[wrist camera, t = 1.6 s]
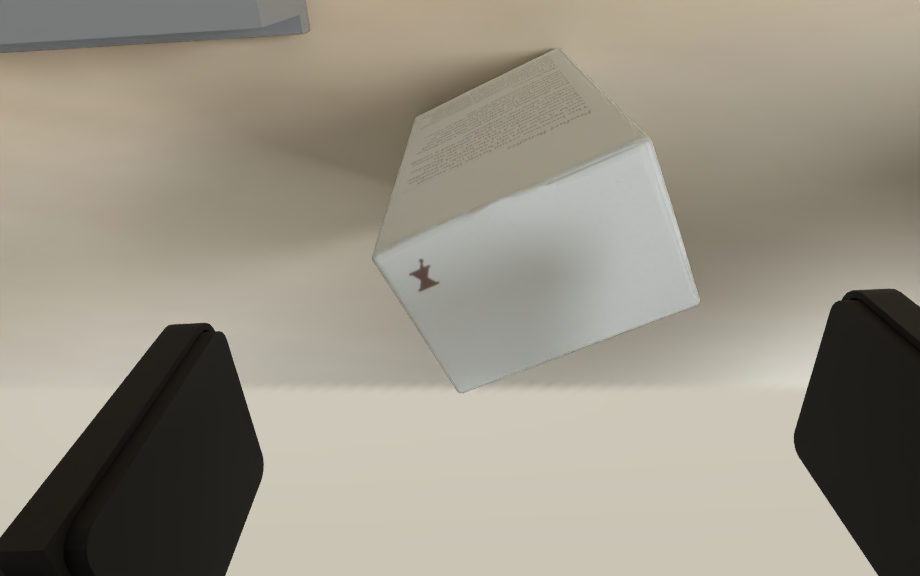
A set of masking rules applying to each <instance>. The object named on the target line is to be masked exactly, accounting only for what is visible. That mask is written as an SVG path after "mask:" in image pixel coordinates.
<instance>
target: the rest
mask: <svg viewBox="0 0 920 576" xmlns="http://www.w3.org/2000/svg"><path fill="white" fill-rule="evenodd" d="M308 31H310V27H309V21H308V15H307V9H306V3H305V0H0V53H7V52H23V51H39V50H55V49H71V48H87V47H103V46H119V45H135V44H151V43H167V42H183V41H199V40H215V39H231V38H247V37H263V36H279V35H295V34H304V33H306V32H308Z"/></svg>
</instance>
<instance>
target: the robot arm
mask: <svg viewBox="0 0 920 576" xmlns="http://www.w3.org/2000/svg"><path fill="white" fill-rule="evenodd" d="M794 444H795V449H796V452H797V454H798V456H799V458H800V459H801V460H802V462H803V464H804V465H805V467H806V468H807V470H808V471H809V473H810V474H811V476H812V477H813V479H814V480H815V482H816V483H817V485H818V486H819V488H820V489H821V491H822V492H823V494H824V495H825V497H826V498H827V500H828V501H829V503H830V504H831V506H832V507H833V509H834V510H835V512H836V513H837V515H838V516H839V518H840V519H841V521H842V522H843V524H844V525H845V526H846V528H847V530H848V531H849V532H850V534H851V535H852V537H853V539H854V540H855V542H856V543H857V545H858V546H859V547H860V549H861V550H862V552H863V553H864V555H865V556H866V558H867V559H868V561H869V562H870V564H871V565H872V567H873V568H874V570H875V571H876V573H877V574H878V576H920V307H919V306H918V305H917V304H915V303H914V302H913V301H911V300H910V299H909V298H908V297H906V296H905V295H904V294H902V293H901V292H899V291H897V290H895V289H873V290H853V291H850V292H848V293H847V294H846V295H845V296H844V297H843V299H842V301H838V302H835V304H834V305H833V306H832V308H831V310H830V314H829V317H828V320H827V324H826V327H825V331H824V334H823V337H822V341H821V344H820V348H819V351H818V354H817V358H816V361H815V364H814V368H813V371H812V375H811V378H810V381H809V385H808V388H807V392H806V395H805V398H804V402H803V405H802V408H801V412H800V415H799V419H798V422H797V426H796V429H795V433H794ZM263 465H264V464H263V456H262V452H261V449H260V446H259V442H258V439H257V436H256V433H255V430H254V426H253V423H252V420H251V417H250V413H249V410H248V407H247V404H246V400H245V397H244V394H243V391H242V387H241V384H240V381H239V378H238V374H237V371H236V368H235V365H234V361H233V358H232V355H231V352H230V349H229V345H228V342H227V339H226V337H225V335H224V334H223V333H222V332H220V331H218V332H215V331H214V328H213V327H212V326H211V325H210V324H208V323H194V324H174V325H168V326H167V327H166V328H165V329H164V330H163V331H162V333H161V334H160V335H159V337H158V338H157V339H156V340H155V342H154V343H153V344H152V345H151V347H150V348H149V349H148V350H147V352H146V353H145V354H144V356H143V357H142V358H141V359H140V361H139V362H138V363H137V364H136V366H135V367H134V368H133V370H132V371H131V372H130V373H129V375H128V376H127V377H126V378H125V380H124V381H123V382H122V384H121V385H120V386H119V387H118V389H117V390H116V391H115V392H114V394H113V395H112V396H111V397H110V399H109V400H108V401H107V403H106V404H105V405H104V407H103V408H102V409H101V410H100V411H99V413H98V414H97V415H96V417H95V418H94V419H93V420H92V422H91V423H90V424H89V426H88V427H87V428H86V429H85V431H84V432H83V433H82V434H81V436H80V437H79V438H78V440H77V441H76V442H75V443H74V445H73V446H72V447H71V448H70V450H69V451H68V452H67V453H66V455H65V456H64V457H63V458H62V460H61V461H60V462H59V464H58V465H57V466H56V467H55V469H54V470H53V471H52V473H51V474H50V475H49V476H48V478H47V479H46V480H45V481H44V483H43V484H42V485H41V486H40V488H39V489H38V490H37V492H36V493H35V494H34V495H33V497H32V498H31V499H30V500H29V502H28V503H27V504H26V506H25V507H24V508H23V509H22V511H21V512H20V513H19V514H18V516H17V517H16V518H15V519H14V521H13V522H12V524H11V525H10V526H9V527H8V528H7V530H6V531H5V532H4V534H3V535H2V536H1V537H0V576H225V575H226V572H227V569H228V566H229V564H230V561H231V559H232V556H233V553H234V551H235V548H236V546H237V543H238V540H239V537H240V535H241V532H242V530H243V527H244V524H245V522H246V519H247V516H248V514H249V511H250V508H251V506H252V503H253V501H254V498H255V495H256V493H257V490H258V487H259V485H260V482H261V479H262V475H263Z"/></svg>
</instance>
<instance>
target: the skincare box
mask: <svg viewBox="0 0 920 576" xmlns="http://www.w3.org/2000/svg"><path fill="white" fill-rule="evenodd" d="M372 260H373V262H374V263H375V265H376V266H377V268H378V269H379V271H380V272H381V274H382V275H383V277H384V278H385V280H386V281H387V283H388V284H389V286H390V288H391V289H392V291H393V292H394V294H395V295H396V297H397V298H398V300H399V301H400V303H401V304H402V306H403V307H404V309H405V311H406V312H407V314H408V315H409V317H410V318H411V320H412V321H413V323H414V324H415V326H416V327H417V329H418V331H419V332H420V334H421V335H422V337H423V338H424V340H425V341H426V343H427V345H428V346H429V348H430V349H431V351H432V352H433V354H434V355H435V357H436V359H437V360H438V362H439V363H440V365H441V367H442V368H443V370H444V371H445V373H446V374H447V376H448V377H449V379H450V381H451V382H452V384H453V385H454V387H455V388H456V390H457V392H459V393H465V392H467V391H470V390H472V389H475V388H478V387H480V386H483V385H485V384H488V383H491V382H493V381H496V380H499V379H501V378H504V377H507V376H509V375H512V374H515V373H518V372H520V371H523V370H526V369H528V368H531V367H534V366H536V365H539V364H541V363H544V362H547V361H550V360H552V359H555V358H557V357H560V356H563V355H565V354H568V353H571V352H573V351H576V350H579V349H581V348H584V347H586V346H589V345H592V344H594V343H597V342H600V341H602V340H605V339H607V338H610V337H613V336H616V335H618V334H621V333H624V332H626V331H629V330H632V329H635V328H637V327H640V326H643V325H645V324H648V323H651V322H653V321H656V320H658V319H661V318H664V317H667V316H669V315H672V314H675V313H678V312H681V311H683V310H686V309H689V308H692V307H695V306H697V305H698V304H699V302H700V298H699V295H698V292H697V288H696V285H695V282H694V278H693V275H692V271H691V268H690V264H689V261H688V258H687V254H686V251H685V248H684V244H683V241H682V238H681V234H680V231H679V227H678V224H677V221H676V217H675V214H674V211H673V207H672V204H671V201H670V197H669V194H668V191H667V188H666V185H665V181H664V178H663V175H662V171H661V168H660V165H659V162H658V159H657V156H656V153H655V149H654V146H653V143H652V140H651V138H650V137H649V136H648V135H647V134H645V133H644V132H643V131H642V130H641V129H640V128H639V127H638V126H637V125H636V124H635V123H634V122H633V121H632V120H631V119H629V118H628V117H627V116H626V115H625V114H624V113H623V112H622V111H621V110H620V109H619V108H618V107H617V106H616V104H614V103H613V102H612V101H611V100H610V99H609V98H608V97H607V96H606V94H605V93H604V92H603V91H602V90H601V89H600V88H599V87H598V86H597V85H596V84H595V83H594V82H593V81H592V80H591V79H590V78H589V77H588V76H587V75H586V74H585V73H584V72H583V71H582V70H581V69H580V68H579V67H578V66H577V64H576V63H575V62H574V61H573V60H572V59H571V58H570V57H569V56H568V55H567V54H566V53H565V52H564V51H563V50H561V49H560V48H556V49H553V50H551V51H549V52H547V53H545V54H543V55H541V56H539V57H537V58H535V59H533V60H531V61H529V62H527V63H525V64H523V65H521V66H519V67H517V68H514V69H512V70H510V71H508V72H506V73H504V74H502V75H500V76H498V77H496V78H494V79H492V80H490V81H488V82H486V83H484V84H482V85H480V86H478V87H476V88H474V89H472V90H469V91H467V92H465V93H463V94H461V95H459V96H457V97H455V98H453V99H451V100H449V101H447V102H445V103H443V104H441V105H439V106H437V107H435V108H433V109H431V110H429V111H427V112H425V113H423V114H421V115H418V116H417V117H416V118H415V120H414V123H413V126H412V130H411V133H410V136H409V139H408V143H407V146H406V149H405V152H404V156H403V158H402V162H401V165H400V168H399V171H398V175H397V178H396V181H395V184H394V188H393V191H392V194H391V198H390V200H389V204H388V207H387V211H386V214H385V217H384V220H383V223H382V226H381V229H380V233H379V235H378V238H377V242H376V245H375V249H374V252H373V255H372Z"/></svg>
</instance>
